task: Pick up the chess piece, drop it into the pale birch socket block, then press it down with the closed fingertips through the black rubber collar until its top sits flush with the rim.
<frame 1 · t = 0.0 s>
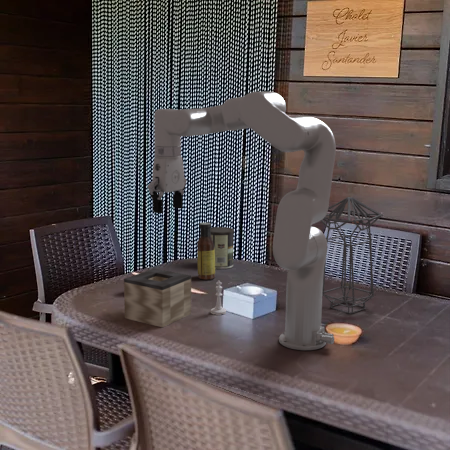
hand: (167, 210, 202), 31 cm above the table, fingers open, 9 cm apart
chess piece: (218, 313, 208), on the table
socket: (158, 316, 204), on the table
sauce bottle: (206, 278, 245), on the table
kendama: (151, 289, 232), on the table
geometric lantern: (344, 308, 214), on the table
coffee can: (219, 266, 262), on the table
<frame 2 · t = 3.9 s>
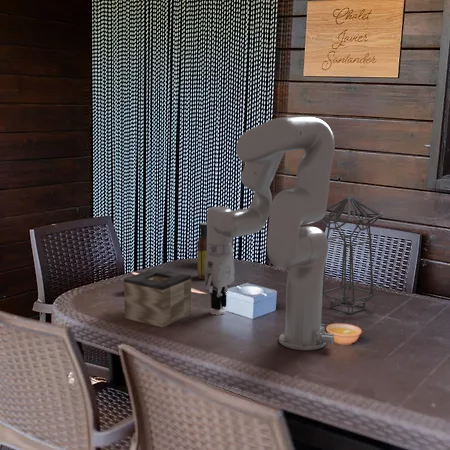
hand: (218, 307, 208), 2 cm above the table, fingers closed on chess piece
chess piece: (218, 313, 208), on the table, touching gripper
everything else where it was.
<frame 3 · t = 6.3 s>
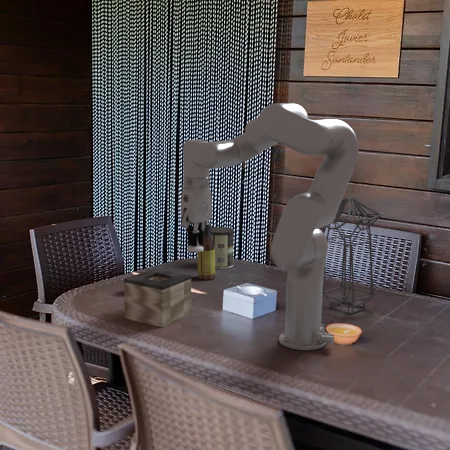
hand: (195, 244, 202), 21 cm above the table, fingers closed on chess piece
chess piece: (195, 250, 203), point 20 cm above the table, touching gripper
everything else where it was.
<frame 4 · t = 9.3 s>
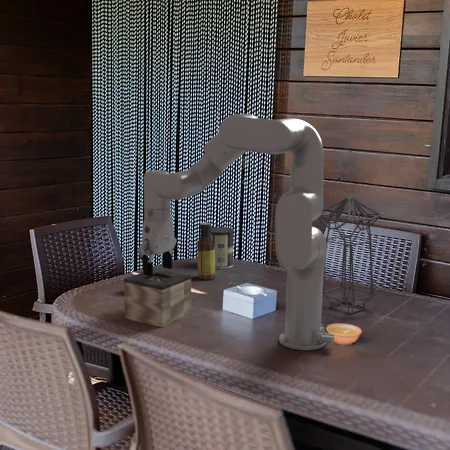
hand: (157, 271, 201), 14 cm above the table, fingers open, 8 cm apart
chess piece: (158, 312, 204), point 1 cm above the table, touching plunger
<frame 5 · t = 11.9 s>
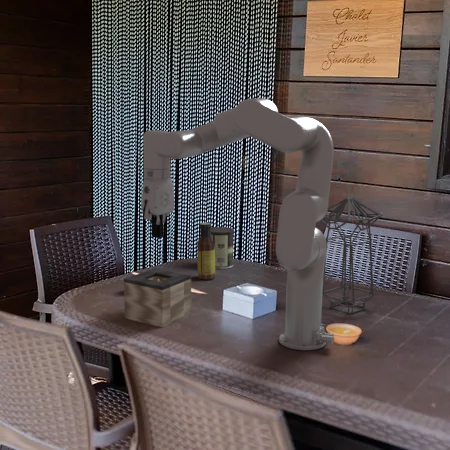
hand: (157, 236, 199), 24 cm above the table, fingers closed
nothing on the table moved.
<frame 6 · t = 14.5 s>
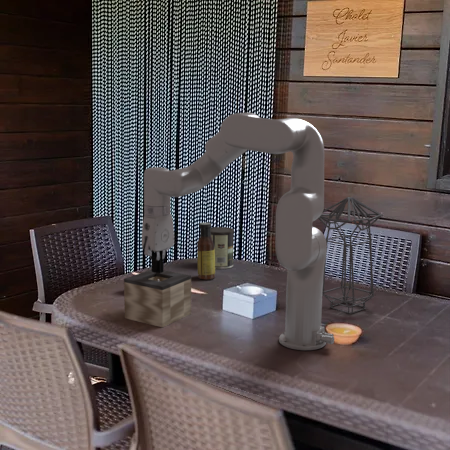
hand: (157, 272, 202), 14 cm above the table, fingers closed
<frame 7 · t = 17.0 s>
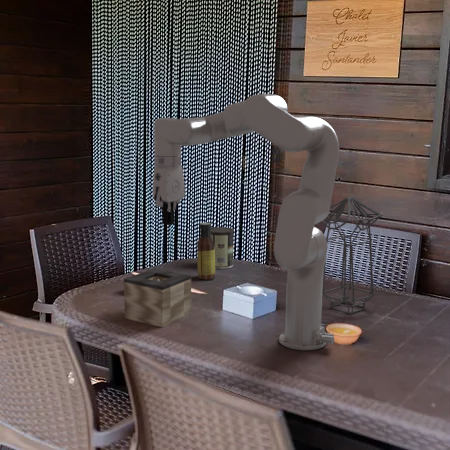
hand: (168, 224, 201), 27 cm above the table, fingers closed
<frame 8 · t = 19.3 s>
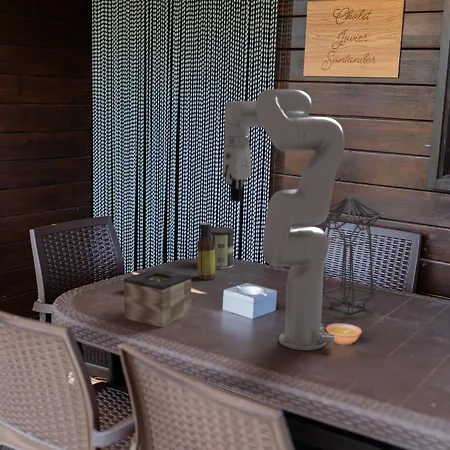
hand: (235, 200, 215), 32 cm above the table, fingers closed
at the end: chess piece 0.1 cm off-centre on the socket, point 1.1 cm above the socket's base; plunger slide at 7.7 cm; chess piece tilted 0° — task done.
